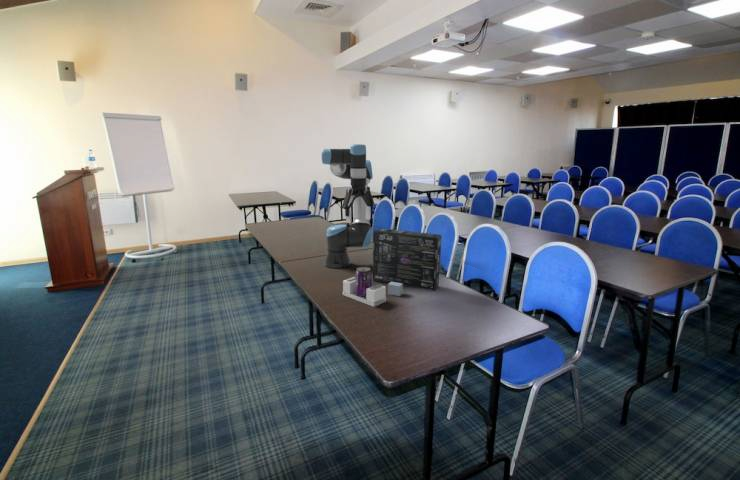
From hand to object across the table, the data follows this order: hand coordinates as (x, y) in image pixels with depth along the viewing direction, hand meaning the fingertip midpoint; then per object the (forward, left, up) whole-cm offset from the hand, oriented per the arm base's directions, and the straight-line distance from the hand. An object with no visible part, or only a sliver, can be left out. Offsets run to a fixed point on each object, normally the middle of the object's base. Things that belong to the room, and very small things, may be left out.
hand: (358, 221), depth 181 cm
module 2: (+14, +24, -30) cm, 41 cm away
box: (-14, +19, -32) cm, 40 cm away
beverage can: (+14, +17, -30) cm, 37 cm away
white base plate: (+14, +17, -32) cm, 39 cm away
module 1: (+14, +10, -30) cm, 34 cm away
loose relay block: (0, +24, -32) cm, 40 cm away
